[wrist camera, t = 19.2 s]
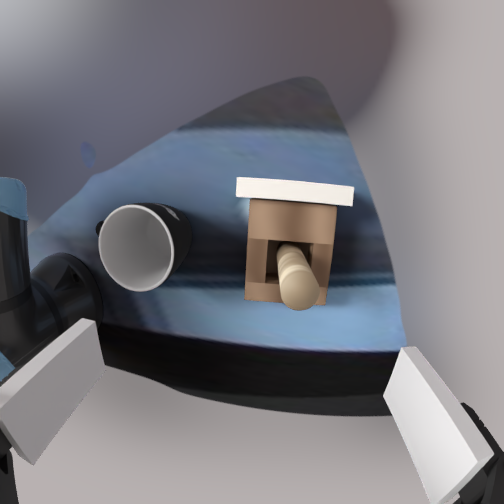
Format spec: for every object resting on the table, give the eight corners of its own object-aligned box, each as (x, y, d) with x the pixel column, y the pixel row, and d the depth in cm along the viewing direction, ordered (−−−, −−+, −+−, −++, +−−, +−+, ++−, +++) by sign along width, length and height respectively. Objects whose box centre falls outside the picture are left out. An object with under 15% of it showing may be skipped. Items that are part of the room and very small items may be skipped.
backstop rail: (242, 195, 34) (236, 196, 28) (243, 179, 34) (237, 177, 28) (339, 203, 33) (352, 206, 27) (340, 187, 33) (353, 187, 27)
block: (247, 286, 37) (244, 299, 32) (253, 197, 34) (249, 199, 30) (319, 291, 36) (324, 305, 32) (329, 204, 33) (337, 206, 29)
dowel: (274, 262, 35) (278, 308, 21) (277, 238, 34) (283, 271, 21) (298, 264, 35) (316, 311, 21) (301, 240, 34) (322, 275, 21)
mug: (208, 208, 35) (183, 216, 25) (193, 274, 37) (166, 303, 27) (127, 188, 35) (83, 190, 25) (117, 249, 37) (74, 268, 27)
